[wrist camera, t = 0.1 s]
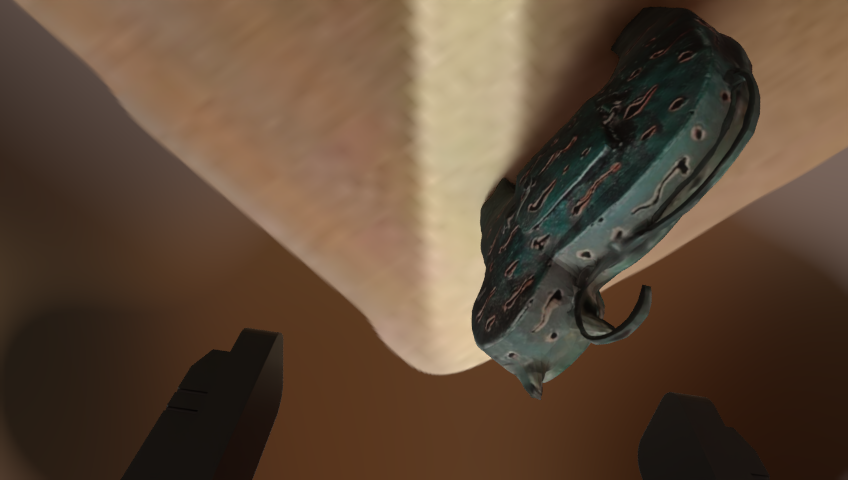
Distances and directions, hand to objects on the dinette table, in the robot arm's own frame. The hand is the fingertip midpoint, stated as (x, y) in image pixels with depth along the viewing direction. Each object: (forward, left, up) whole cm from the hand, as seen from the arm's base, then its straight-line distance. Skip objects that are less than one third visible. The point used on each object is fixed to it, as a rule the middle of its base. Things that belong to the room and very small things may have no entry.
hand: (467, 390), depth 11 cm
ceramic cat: (+3, +8, -29) cm, 31 cm away
